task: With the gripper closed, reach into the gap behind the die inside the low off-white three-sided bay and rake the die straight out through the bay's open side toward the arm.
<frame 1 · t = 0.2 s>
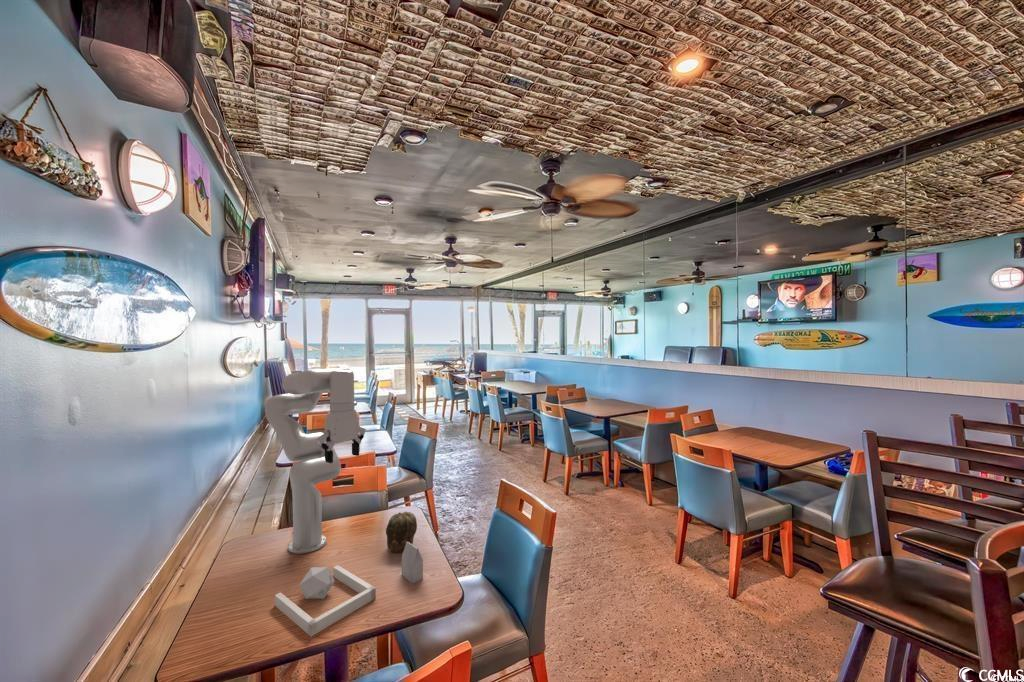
hand: (342, 458, 134), 36 cm above the table, tool pointing down, fingers open, 9 cm apart
die: (317, 596, 119), on the table
shell: (401, 547, 147), on the table
grey faceted angular block: (412, 577, 129), on the table
bay: (325, 601, 116), on the table
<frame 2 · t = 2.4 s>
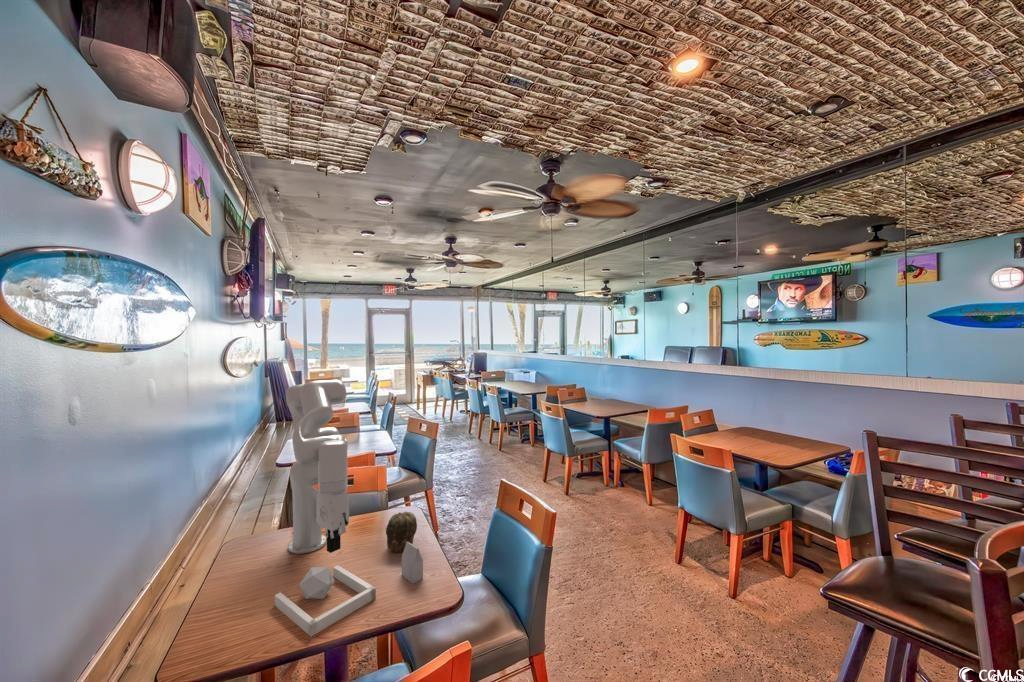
hand: (333, 549, 114), 16 cm above the table, tool pointing down, fingers closed
nothing on the table moved.
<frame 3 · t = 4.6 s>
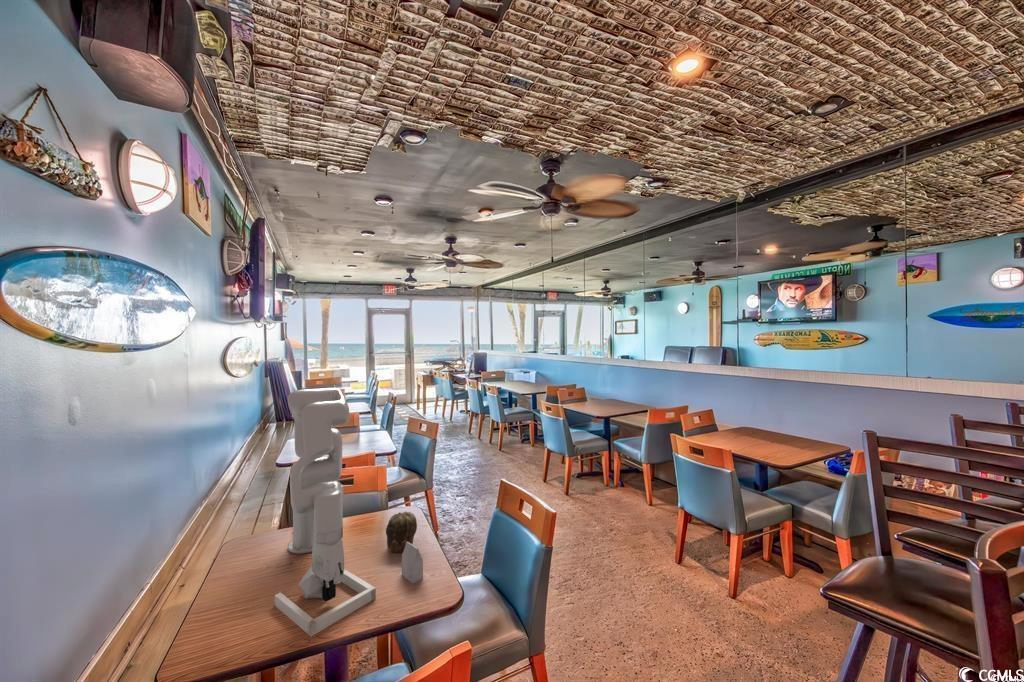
hand: (329, 598, 115), 2 cm above the table, tool pointing down, fingers closed
die: (317, 595, 119), on the table, touching gripper
everything else where it was.
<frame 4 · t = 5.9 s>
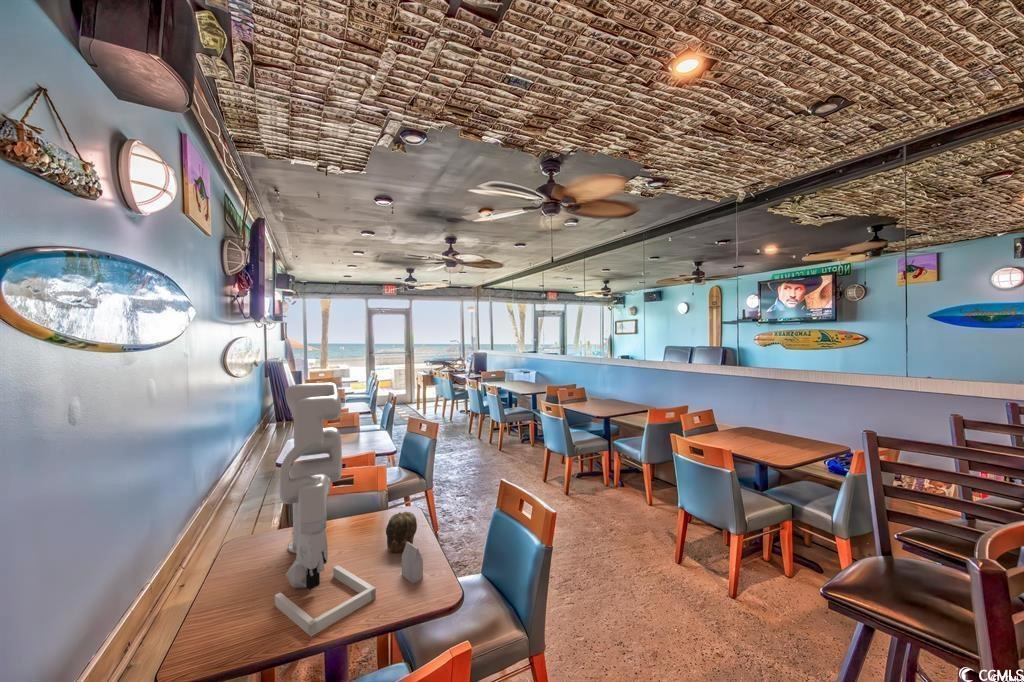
hand: (313, 586, 120), 2 cm above the table, tool pointing down, fingers closed
die: (303, 585, 124), on the table, touching gripper
everything else where it was.
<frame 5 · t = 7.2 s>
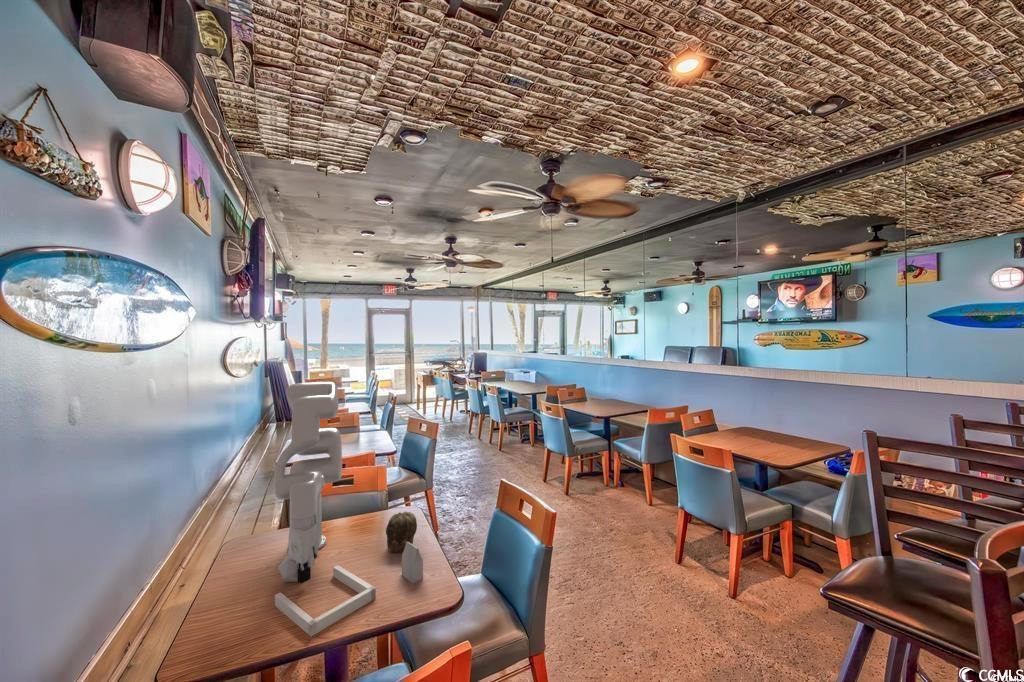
hand: (304, 580, 123), 2 cm above the table, tool pointing down, fingers closed
die: (295, 579, 127), on the table, touching gripper
everything else where it was.
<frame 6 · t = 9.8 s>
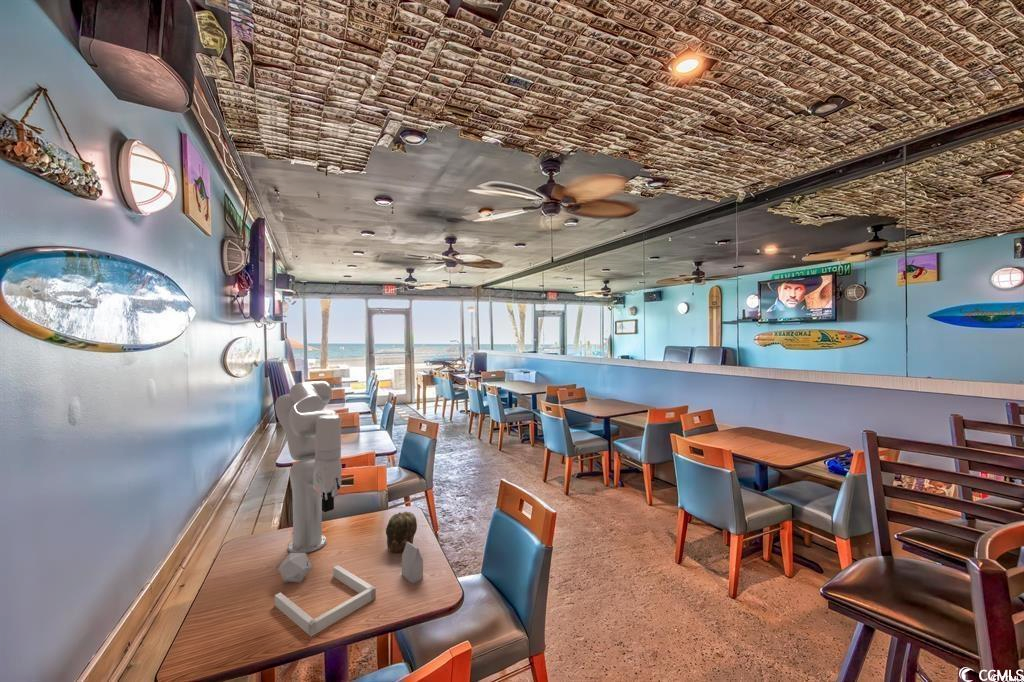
hand: (327, 510, 130), 21 cm above the table, tool pointing down, fingers closed
die: (295, 580, 127), on the table
everything else where it was.
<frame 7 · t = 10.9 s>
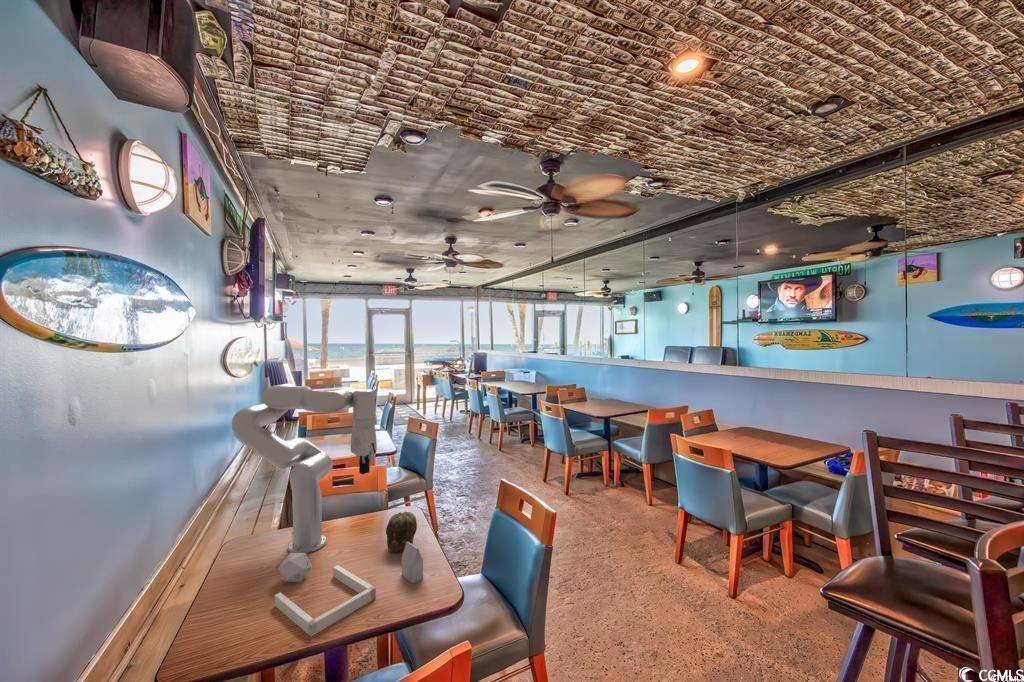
hand: (364, 472, 147), 27 cm above the table, tool pointing down, fingers closed
nothing on the table moved.
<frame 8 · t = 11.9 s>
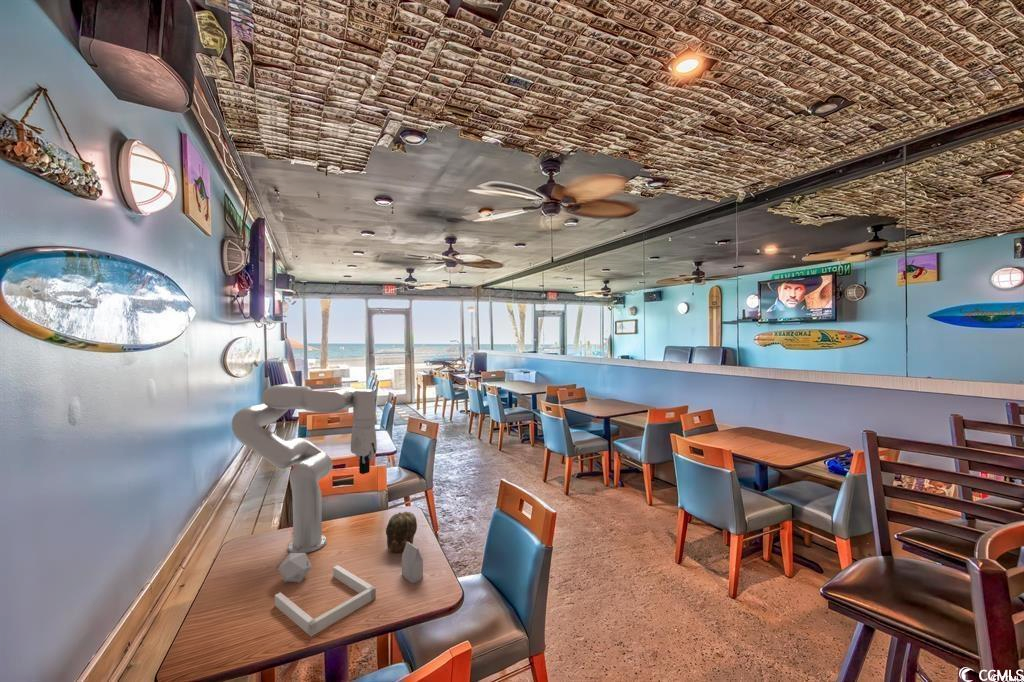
hand: (364, 472, 147), 27 cm above the table, tool pointing down, fingers closed
nothing on the table moved.
at the end: die inside the target area (2.0 cm from its centre), on the table; die tilted 2°; die touching table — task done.
